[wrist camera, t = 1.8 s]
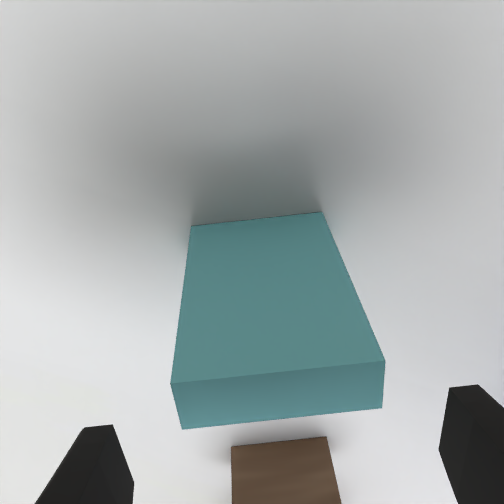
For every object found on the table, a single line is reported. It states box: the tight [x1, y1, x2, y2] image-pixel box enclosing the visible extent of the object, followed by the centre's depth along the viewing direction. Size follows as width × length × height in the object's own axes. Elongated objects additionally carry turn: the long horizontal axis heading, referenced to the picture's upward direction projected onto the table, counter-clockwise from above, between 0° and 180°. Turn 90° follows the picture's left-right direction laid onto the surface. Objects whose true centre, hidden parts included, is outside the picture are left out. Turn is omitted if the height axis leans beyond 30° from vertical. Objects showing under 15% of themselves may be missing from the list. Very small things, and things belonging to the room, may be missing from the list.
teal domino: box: [170, 212, 385, 430], centre depth 15 cm, size 2×5×8 cm, turn 96°
